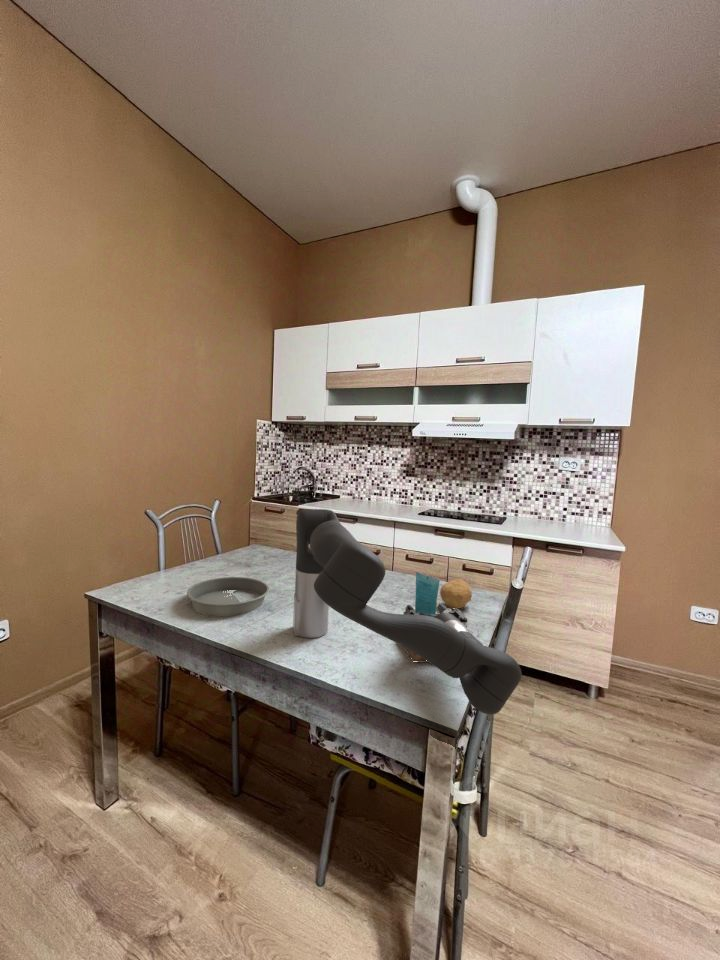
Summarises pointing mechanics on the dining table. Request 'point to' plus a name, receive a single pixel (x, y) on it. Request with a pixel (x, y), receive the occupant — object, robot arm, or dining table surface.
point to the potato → (456, 593)
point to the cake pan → (212, 599)
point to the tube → (426, 593)
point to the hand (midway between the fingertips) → (423, 607)
